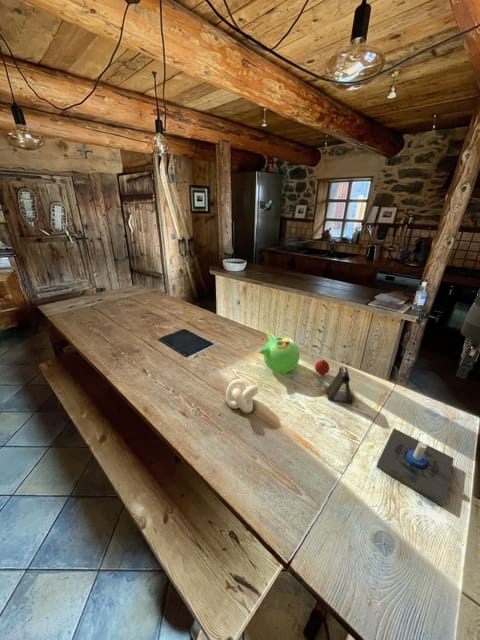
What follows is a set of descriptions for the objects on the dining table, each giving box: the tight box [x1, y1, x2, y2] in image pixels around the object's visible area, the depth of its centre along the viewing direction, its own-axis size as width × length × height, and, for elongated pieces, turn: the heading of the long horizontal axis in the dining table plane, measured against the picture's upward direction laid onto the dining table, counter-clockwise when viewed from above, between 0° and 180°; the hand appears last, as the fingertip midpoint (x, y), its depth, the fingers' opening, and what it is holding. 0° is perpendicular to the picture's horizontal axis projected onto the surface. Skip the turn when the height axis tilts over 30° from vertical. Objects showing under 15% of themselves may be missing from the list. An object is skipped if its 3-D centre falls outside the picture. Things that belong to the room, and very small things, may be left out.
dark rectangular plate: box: [375, 428, 454, 507], centre depth 77 cm, size 16×16×2 cm
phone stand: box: [326, 366, 354, 404], centre depth 101 cm, size 9×6×12 cm, turn 78°
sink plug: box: [405, 441, 427, 469], centre depth 76 cm, size 5×5×8 cm
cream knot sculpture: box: [225, 378, 259, 414], centre depth 97 cm, size 11×12×9 cm
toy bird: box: [258, 330, 301, 373], centre depth 117 cm, size 18×17×15 cm
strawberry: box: [314, 359, 330, 376], centre depth 114 cm, size 6×6×8 cm
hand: (462, 370), depth 79 cm, fingers open, 8 cm apart
